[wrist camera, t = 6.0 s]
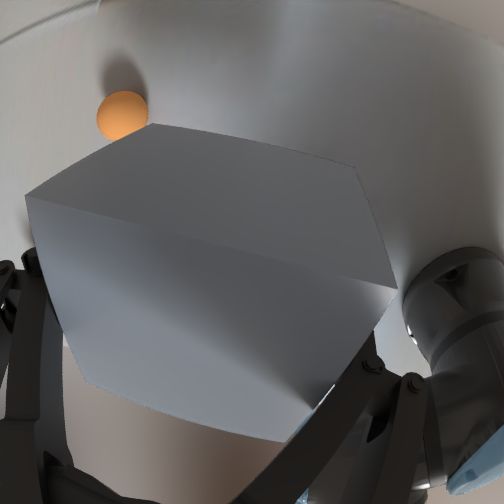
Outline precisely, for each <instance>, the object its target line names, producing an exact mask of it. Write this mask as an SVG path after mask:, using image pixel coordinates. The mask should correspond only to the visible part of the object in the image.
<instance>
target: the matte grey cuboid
mask: <svg viewBox="0 0 504 504" xmlns="http://www.w3.org/2000/svg"><path fill="white" fill-rule="evenodd" d="M25 200H26V205H27V211H28V216H29V221H30V225H31V230H32V234H33V238H34V243H35V247H36V251H37V254H38V258H39V262H40V265H41V269H42V272H43V276H44V279H45V282H46V285H47V288H48V292H49V295H50V298H51V300H52V303H53V306H54V309H55V312H56V315H57V317H58V320H59V323H60V325H61V328H62V330H63V333H64V335H65V338H66V340H67V343H68V345H69V347H70V350H71V352H72V354H73V356H74V359H75V361H76V363H77V365H78V367H79V370H80V372H81V373H82V376H83V378H84V380H85V382H87V383H89V384H91V385H94V386H96V387H98V388H100V389H103V390H105V391H108V392H110V393H112V394H114V395H117V396H120V397H122V398H124V399H127V400H130V401H132V402H135V403H137V404H140V405H143V406H145V407H148V408H151V409H154V410H157V411H159V412H162V413H165V414H168V415H172V416H175V417H178V418H181V419H184V420H188V421H191V422H195V423H198V424H202V425H205V426H209V427H213V428H217V429H221V430H225V431H229V432H233V433H237V434H242V435H247V436H252V437H256V438H261V439H267V440H272V441H278V442H286V441H287V439H288V438H289V437H290V436H291V435H292V434H293V433H294V432H295V431H296V429H297V428H298V427H299V426H300V425H301V424H302V423H303V421H304V420H305V419H306V418H307V417H308V416H309V414H310V413H311V412H312V411H313V410H314V408H315V407H316V406H317V405H318V404H319V402H320V401H321V400H322V399H323V397H324V396H325V395H326V394H327V392H328V391H329V390H330V389H331V387H332V386H333V385H334V384H335V382H336V381H337V380H338V378H339V377H340V376H341V374H342V373H343V372H344V370H345V369H346V368H347V366H348V365H349V364H350V362H351V361H352V359H353V358H354V357H355V355H356V354H357V352H358V351H359V350H360V348H361V347H362V345H363V344H364V342H365V341H366V340H367V338H368V337H369V335H370V334H371V332H372V331H373V329H374V328H375V326H376V325H377V323H378V321H379V320H380V318H381V317H382V315H383V314H384V312H385V311H386V309H387V307H388V306H389V304H390V303H391V301H392V299H393V298H394V296H395V294H396V293H397V291H398V287H397V284H396V280H395V277H394V274H393V271H392V268H391V264H390V261H389V258H388V255H387V252H386V249H385V246H384V243H383V240H382V238H381V235H380V232H379V229H378V226H377V224H376V221H375V218H374V215H373V213H372V210H371V208H370V205H369V202H368V200H367V197H366V195H365V192H364V190H363V187H362V185H361V182H360V180H359V178H358V175H357V173H356V171H355V168H354V167H351V166H347V165H344V164H341V163H337V162H334V161H331V160H327V159H324V158H320V157H316V156H313V155H309V154H305V153H302V152H298V151H294V150H290V149H286V148H282V147H278V146H273V145H269V144H265V143H261V142H256V141H251V140H247V139H242V138H237V137H232V136H227V135H222V134H217V133H211V132H206V131H200V130H194V129H188V128H182V127H175V126H168V125H161V124H154V123H152V124H150V125H147V126H145V127H143V128H141V129H139V130H137V131H135V132H133V133H131V134H128V135H126V136H124V137H122V138H120V139H118V140H117V141H115V142H113V143H111V144H109V145H107V146H105V147H103V148H101V149H99V150H98V151H96V152H94V153H92V154H90V155H89V156H87V157H85V158H83V159H82V160H80V161H78V162H76V163H75V164H73V165H71V166H70V167H68V168H66V169H65V170H63V171H61V172H60V173H58V174H57V175H55V176H53V177H52V178H50V179H49V180H47V181H46V182H44V183H42V184H41V185H39V186H38V187H36V188H35V189H33V190H32V191H31V192H29V193H28V194H26V195H25Z"/></svg>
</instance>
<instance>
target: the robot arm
mask: <svg viewBox="0 0 504 504" xmlns="http://www.w3.org/2000/svg"><path fill="white" fill-rule="evenodd" d="M21 259H22V263H23V266H24V269H25V270H17V269H15V266H14V263H13V262H12V261H10V260H3V261H0V388H1V384H2V381H3V378H4V375H5V371H6V368H7V365H8V363H9V365H8V376H7V390H6V412H5V417H4V419H1V420H0V504H160V503H157V502H154V501H150V500H142V499H135V498H128V497H122V496H120V495H119V494H117V493H116V492H114V491H113V490H112V489H110V488H109V487H107V486H106V485H104V484H103V483H101V482H100V481H99V480H97V479H96V478H94V477H93V476H91V475H89V474H87V473H85V472H83V471H81V470H79V469H76V468H75V467H74V463H73V459H72V456H71V453H70V451H69V449H68V446H67V440H66V431H65V420H64V406H63V385H62V346H63V330H62V328H61V325H60V323H59V320H58V317H57V315H56V312H55V309H54V306H53V303H52V300H51V298H50V295H49V292H48V288H47V285H46V282H45V279H44V276H43V272H42V269H41V265H40V262H39V258H38V254H37V251H36V247H34V248H31V249H29V250H27V251H26V252H25V253H23V255H22V257H21ZM2 304H4V306H3V308H2V309H1V306H2ZM403 318H404V322H405V326H406V330H407V332H408V334H409V336H410V338H411V339H412V341H413V342H414V343H415V344H416V345H417V346H418V348H419V350H420V351H421V353H422V354H423V356H424V357H425V359H426V360H427V361H428V363H429V364H430V368H431V372H432V376H430V377H427V378H423V377H422V376H421V375H419V374H417V373H414V372H409V373H406V374H405V375H404V376H403V377H401V376H399V375H397V374H395V373H392V372H390V371H389V370H387V369H386V368H385V364H384V362H383V360H382V359H381V358H380V357H379V356H378V355H377V351H376V344H375V337H374V330H373V331H372V332H371V334H370V335H369V337H368V338H367V340H366V341H365V342H364V344H363V345H362V347H361V348H360V350H359V351H358V352H357V354H356V355H355V357H354V358H353V359H352V361H351V362H350V364H349V365H348V366H347V368H346V369H345V370H344V372H343V373H342V374H341V376H340V377H339V378H338V380H337V381H336V382H335V386H334V388H333V389H332V390H331V391H330V393H329V394H328V395H327V396H326V398H325V399H324V401H323V402H322V403H321V404H320V406H319V407H318V408H317V409H314V410H313V411H312V412H311V413H310V414H309V416H308V417H307V418H306V419H305V420H304V421H303V423H302V424H301V425H300V426H299V427H298V428H297V429H296V431H295V434H294V437H293V438H292V439H291V440H290V441H289V442H288V444H287V445H286V446H285V447H284V448H283V449H282V450H281V451H280V452H279V453H278V454H277V456H276V457H275V458H274V459H273V460H272V461H271V462H270V463H269V464H268V465H267V466H266V467H265V468H264V469H263V470H262V471H261V472H260V473H259V474H258V475H257V476H256V477H255V478H254V479H253V480H252V481H251V482H250V483H249V484H248V485H247V486H246V487H245V488H244V489H243V490H242V491H241V492H240V493H239V494H238V495H237V496H235V497H234V498H233V499H232V500H231V501H230V502H229V503H228V504H295V503H297V504H426V503H427V500H428V498H427V497H428V495H427V489H430V488H434V487H437V486H441V485H444V484H446V490H448V491H449V494H450V495H453V496H454V495H460V494H464V493H465V492H468V491H471V490H475V489H477V488H479V487H481V486H484V485H486V484H488V483H490V482H492V481H494V480H495V479H497V478H499V477H501V476H502V475H504V266H503V265H502V263H501V262H500V260H499V259H498V258H497V257H496V256H495V255H494V254H493V253H492V252H490V251H488V250H485V249H482V248H475V247H470V248H462V249H458V250H455V251H452V252H449V253H447V254H445V255H443V256H441V257H439V258H438V259H436V260H435V261H433V262H432V263H431V264H429V265H428V266H427V267H426V268H425V269H423V270H422V271H421V272H420V274H419V275H418V276H417V277H416V278H415V280H414V281H413V282H412V284H411V285H410V287H409V289H408V291H407V293H406V295H405V298H404V302H403Z"/></svg>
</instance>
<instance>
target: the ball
mask: <svg viewBox="0 0 504 504" xmlns="http://www.w3.org/2000/svg"><path fill="white" fill-rule="evenodd" d="M147 119H148V108H147V105H146V103H145V101H144V100H143V98H142V97H141V96H140V95H138V94H137V93H135V92H132V91H118V92H115V93H113V94H111V95H109V96H108V97H107V98H106V99H105V100H104V101H103V102H102V103H101V105H100V107H99V109H98V112H97V125H98V128H99V130H100V132H101V133H102V134H103V135H104V136H105V137H106V138H108V139H110V140H112V141H117V140H118V139H120V138H122V137H124V136H126V135H128V134H131V133H133V132H135V131H137V130H139V129H141V128H143V127H145V125H146V123H147Z"/></svg>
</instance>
